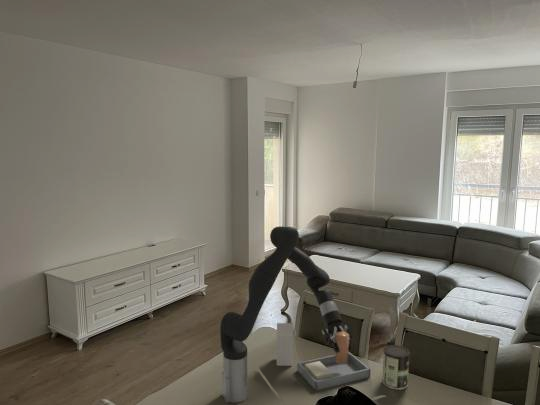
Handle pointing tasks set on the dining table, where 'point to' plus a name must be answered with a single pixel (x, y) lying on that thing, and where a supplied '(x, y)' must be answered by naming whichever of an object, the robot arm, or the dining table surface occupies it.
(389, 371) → the coffee can
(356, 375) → the tray
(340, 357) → the terracotta jar
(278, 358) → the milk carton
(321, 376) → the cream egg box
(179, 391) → the dining table surface
